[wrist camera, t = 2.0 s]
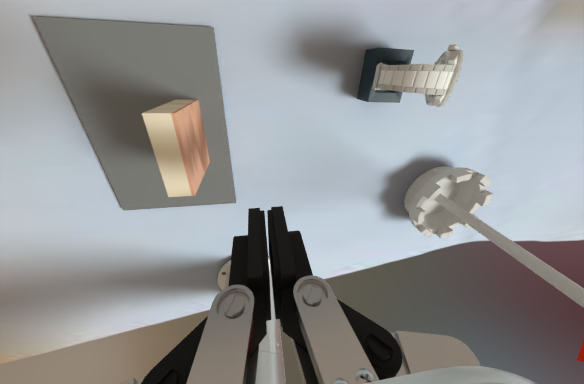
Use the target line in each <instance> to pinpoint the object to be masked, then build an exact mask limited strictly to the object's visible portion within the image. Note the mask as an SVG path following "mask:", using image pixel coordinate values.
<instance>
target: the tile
mask: <svg viewBox="0 0 584 384" xmlns="http://www.w3.org/2000/svg"><path fill="white" fill-rule="evenodd" d="M142 116H143V119H144V122H145V125H146V129H147V132H148V135H149V138H150V141H151V144H152V147H153V150H154V153H155V157H156V160H157V163H158V166H159V169H160V172H161V175H162V178H163V181H164V185H165V188H166V191H167V194H168V197H181V196H195V194H196V192H197V190H198V188H199V185H200V183H201V181H202V179H203V177H204V174H205V172H206V170H207V168H208V165H209V163H210V160H209V154H208V149H207V143H206V138H205V133H204V127H203V122H202V116H201V111H200V105H199V100H184V99H176V100H173V101H171V102H168V103H166V104H163V105H161V106H159V107H156V108H154V109H151V110H149V111H146V112H144V113H142Z"/></svg>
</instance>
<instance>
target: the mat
mask: <svg viewBox="0 0 584 384" xmlns="http://www.w3.org/2000/svg"><path fill="white" fill-rule="evenodd" d="M32 17H33V19H34V21H35V23H36V25H37V27H38V29H39V32H40V34H41V36H42V38H43V40H44V42H45V44H46V47H47V49H48V51H49V53H50V55H51V57H52V59H53V61H54V64H55V66H56V68H57V70H58V72H59V74H60V76H61V79H62V81H63V83H64V85H65V87H66V89H67V91H68V93H69V96H70V98H71V100H72V102H73V104H74V106H75V108H76V111H77V113H78V115H79V117H80V119H81V121H82V123H83V125H84V128H85V130H86V132H87V134H88V136H89V138H90V140H91V143H92V145H93V147H94V149H95V151H96V153H97V155H98V158H99V160H100V162H101V164H102V166H103V168H104V170H105V172H106V175H107V177H108V179H109V181H110V183H111V185H112V187H113V190H114V192H115V194H116V196H117V198H118V200H119V202H120V204H121V207H122V209H123V210H136V209H151V208H166V207H181V206H196V205H211V204H227V203H236V198H235V190H234V182H233V174H232V167H231V159H230V151H229V143H228V136H227V128H226V120H225V113H224V105H223V97H222V89H221V82H220V74H219V66H218V59H217V51H216V43H215V35H214V28H213V27H202V26H186V25H169V24H153V23H136V22H120V21H104V20H87V19H71V18H54V17H38V16H32ZM176 99H184V100H199V105H200V111H201V116H202V122H203V127H204V133H205V138H206V143H207V149H208V154H209V160H210V163H209V165H208V168H207V170H206V172H205V174H204V177H203V179H202V181H201V183H200V185H199V188H198V190H197V192H196V194H195V196H181V197H168V194H167V191H166V188H165V185H164V181H163V178H162V175H161V172H160V169H159V166H158V163H157V160H156V157H155V153H154V150H153V147H152V144H151V141H150V138H149V135H148V132H147V129H146V125H145V122H144V119H143V116H142V113H144V112H146V111H149V110H151V109H154V108H156V107H159V106H161V105H163V104H166V103H168V102H171V101H173V100H176Z"/></svg>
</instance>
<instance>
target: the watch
mask: <svg viewBox="0 0 584 384" xmlns="http://www.w3.org/2000/svg"><path fill="white" fill-rule="evenodd" d="M458 47H459V45H449V47H448V51H446V52H444V53H443V54H442V55H441V56H440V58H439V59H438V61H437V62H435V64H411V65H410V63H411V60H412V56H413V52H414V50H404V49H389V48H375V49H369V50H366V53H365V59H364V64H363V70H362V75H361V81H360V86H359V92H358V97H357V99H360V100H363V101H367V102H398V103H400V99H401V96H402V92H403V91H404V92H407V93H418V94H425V96H426V104H427V105H430V106H437V107H442V106H443V105H444V104H445V103H446V101H447V100H448V98H449V97H450V95H451V93H452V91H453V89H454V87H455V84H456V82H457V79H458V76H459V73H460V70H461V66H462V61H463V51H462V50H457V49H458ZM456 50H457V51H456ZM422 65H423V66H422Z"/></svg>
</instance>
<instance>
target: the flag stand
mask: <svg viewBox="0 0 584 384" xmlns="http://www.w3.org/2000/svg"><path fill="white" fill-rule="evenodd" d="M491 183H492V182H491V181H490V179H489V178H487V177H486V176H484V175H482V174H480V173H478V172H476V171H474V170H471V169H468V168H452V167H448V166H440V167H435V168H432V169H430V170H428V171H426V172H425V173H423V174H422V175H420V176H419V177H418V178H417V179H416V180H415V181H414V182H413V183H412V184H411V186H410V187H409V189H408V190H407V193H406V195H405V199H404V205H405V209H406V210H407V212H408V213H409V217H410V221H411V222H412V224H413V225H414V226H415V227H416V228H417V229H418V230H419V231H420V232H421V233H422V234H424V235H425V236H427V237H430V236H431V235H432V234H436V235H437V236H439V237H440V238H443V237H447V236H450V235H453V230H452V228H454V227H456V226H458V225H459V224H462V225H464V226H465V227H468V226H469V225H470V226H471V227H472V228H474V229H475V230H477V231H478V232H479V233H481V234H482V235H483V236H485V237H486V238H488V239H489V240H490V241H492V242H493V243H495V244H496V245H497V246H499V247H500V248H502V249H503V250H504V251H506V252H507V253H509V254H510V255H511V256H513V257H514V258H515V259H517V260H518V261H520V262H521V263H522V264H524V265H525V266H527V267H528V268H529V269H531V270H532V271H533V272H535V273H536V274H538V275H539V276H540V277H542V278H543V279H545V280H546V281H547V282H549V283H550V284H552V285H553V286H554V287H556V288H557V289H559V290H560V291H561V292H563V293H564V294H565V295H567V296H568V297H570V298H571V299H572V300H574V301H575V302H577V303H578V304H579V305H581V306H582V307H583V308H584V289H583V288H582V287H580V286H579V285H578V284H576V283H574V282H573V281H571V280H570V279H568V278H567V277H565V276H564V275H562V274H561V273H559V272H558V271H556V270H555V269H553V268H552V267H550V266H549V265H547V264H546V263H544V262H543V261H541V260H539V259H538V258H537V257H535V256H534V255H532V254H531V253H529V252H528V251H526V250H525V249H523V248H522V247H520V246H519V245H517V244H516V243H514V242H513V241H511V240H510V239H508V238H507V237H505V236H504V235H502V234H501V233H499V232H498V231H496V230H494V229H493V228H491V227H490V226H488V225H487V224H485V223H484V222H482V221H481V220H479V219H478V217H477V216H475V215H474V214H473V213H474V212H475V210H476V209H477V208H478V207H479V205H481V206H488V204H489V202H490V200H491V197H492V193H490V192H489V191H487V190H486V187H487V186H488V185H490V184H491ZM577 360H579V361H584V342H583V345H582V347H581V350H580V353H579V356H578V358H577Z"/></svg>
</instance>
